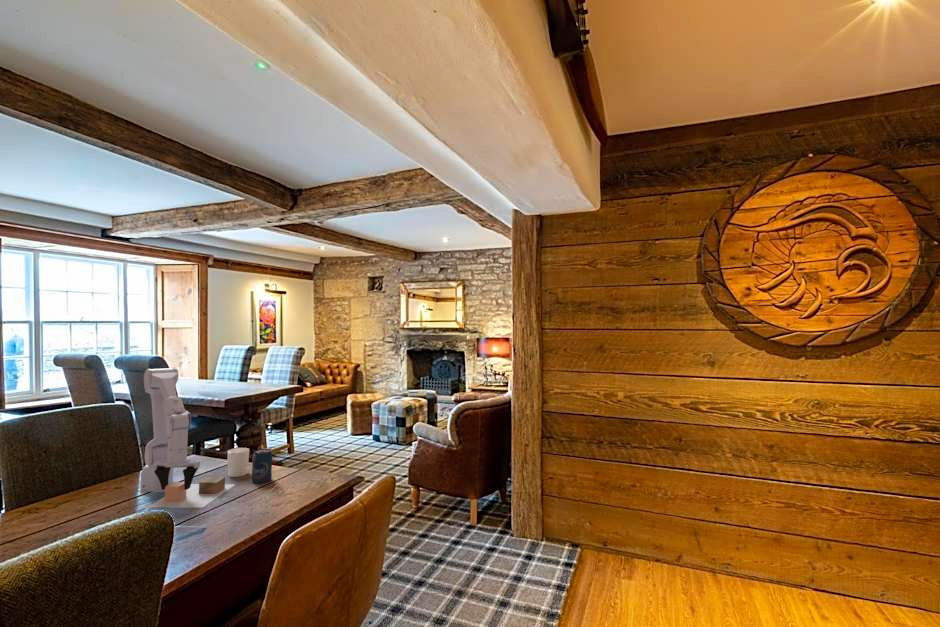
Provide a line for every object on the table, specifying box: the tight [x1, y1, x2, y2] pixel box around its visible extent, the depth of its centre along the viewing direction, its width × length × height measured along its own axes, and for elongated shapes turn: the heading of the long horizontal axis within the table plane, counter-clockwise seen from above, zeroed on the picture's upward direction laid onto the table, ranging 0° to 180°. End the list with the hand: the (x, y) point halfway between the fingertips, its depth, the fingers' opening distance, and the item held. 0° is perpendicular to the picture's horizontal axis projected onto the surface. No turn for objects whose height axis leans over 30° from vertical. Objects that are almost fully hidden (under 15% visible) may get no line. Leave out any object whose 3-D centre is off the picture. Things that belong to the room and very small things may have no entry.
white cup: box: [226, 447, 250, 478], centre depth 181 cm, size 8×8×10 cm
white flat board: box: [147, 483, 237, 509], centre depth 158 cm, size 18×22×1 cm
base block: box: [198, 476, 226, 494], centre depth 162 cm, size 6×6×4 cm
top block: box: [164, 481, 186, 502], centre depth 154 cm, size 4×4×5 cm
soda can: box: [251, 448, 273, 485], centre depth 174 cm, size 7×7×12 cm
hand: (176, 488), depth 154 cm, fingers open, 7 cm apart
